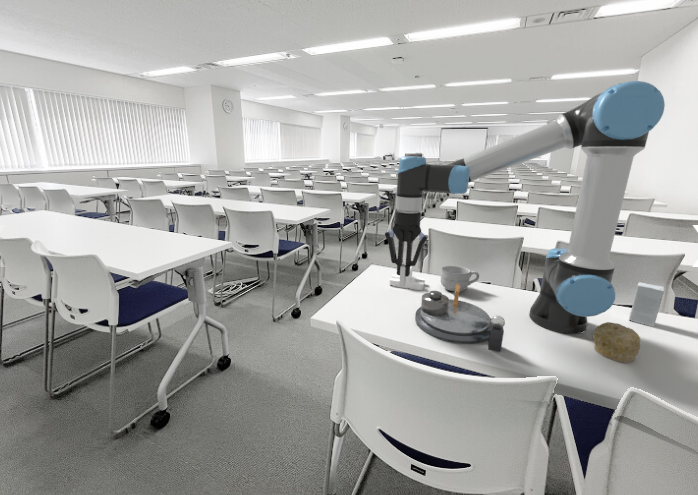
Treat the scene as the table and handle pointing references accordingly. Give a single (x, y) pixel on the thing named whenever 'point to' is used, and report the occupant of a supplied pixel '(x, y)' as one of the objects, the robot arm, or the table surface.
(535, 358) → the table surface
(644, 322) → the skincare box
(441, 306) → the cover
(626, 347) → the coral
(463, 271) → the teacup
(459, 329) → the turntable
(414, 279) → the slotted bracket
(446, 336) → the turntable base
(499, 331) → the dark bottle
